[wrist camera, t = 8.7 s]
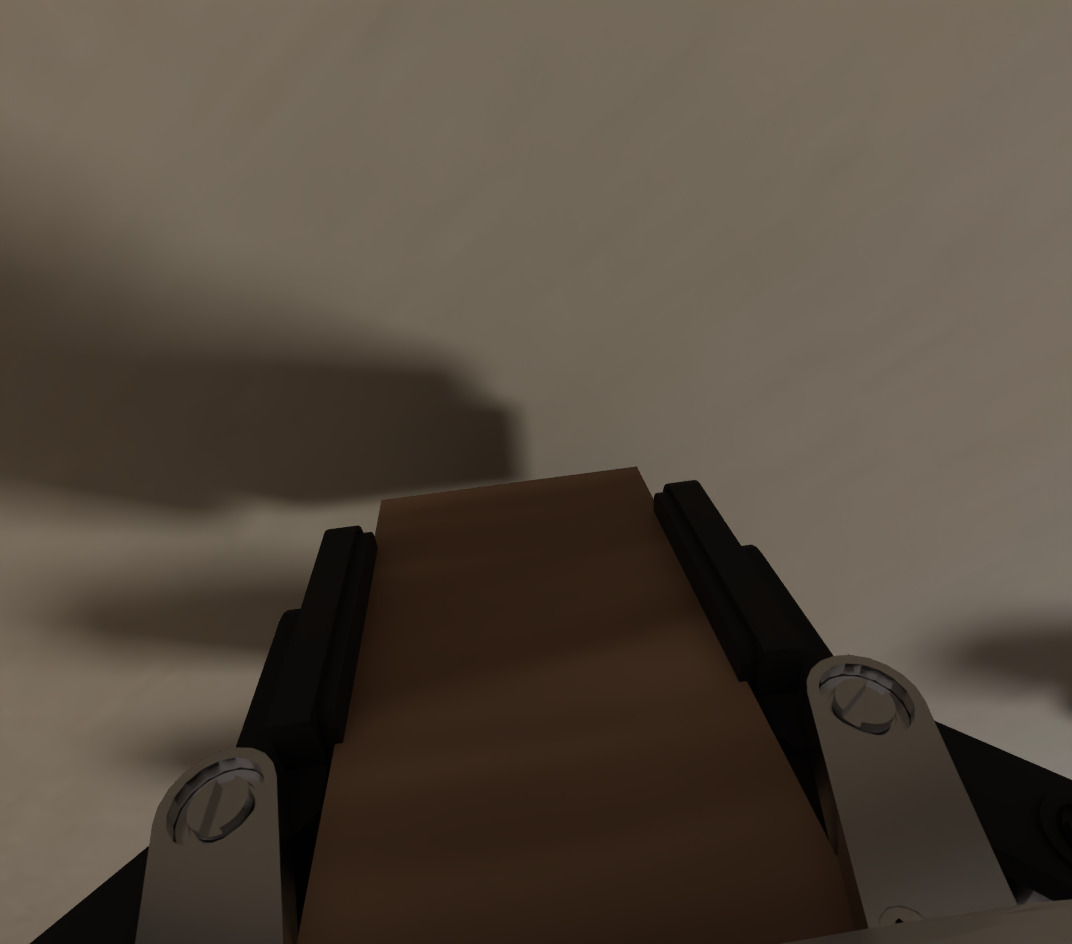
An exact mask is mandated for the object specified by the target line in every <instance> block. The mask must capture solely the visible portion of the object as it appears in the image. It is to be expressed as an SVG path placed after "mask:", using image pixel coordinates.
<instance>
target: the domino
mask: <svg viewBox="0 0 1072 944" xmlns="http://www.w3.org/2000/svg"><path fill="white" fill-rule="evenodd" d="M653 510H654V499H653V498H652V496H651V494H650V492H649V490H648V488H647V486H646V484H645V482H644V480H643V478H642V476H641V474H640V472H639V470H638V468H637V467H630V468H623V469H615V470H607V471H600V472H592V473H585V474H577V475H569V476H562V477H554V478H547V479H539V480H531V481H524V482H516V483H509V484H501V485H493V486H486V487H478V488H470V489H463V490H455V491H448V492H440V493H432V494H425V495H417V496H410V497H402V498H394V499H387V500H382V501H381V506H380V512H379V517H378V522H377V527H376V533H375V539H376V543H377V547H378V550H377V556H376V561H375V567H374V573H373V578H372V584H371V589H370V595H369V601H368V606H367V612H366V617H365V623H364V629H363V634H362V640H361V645H360V651H359V657H358V662H357V668H356V673H355V679H354V685H353V690H352V696H351V701H350V707H349V713H348V718H347V724H346V729H345V735H344V741H343V743H339V744H335V746H334V752H333V757H332V762H331V767H330V772H329V778H328V783H327V788H326V793H325V798H324V804H323V809H322V814H321V819H320V825H319V830H318V835H317V840H316V845H315V851H314V856H313V861H312V866H311V871H310V877H309V882H308V887H307V892H306V898H305V903H304V908H303V913H302V918H301V924H300V929H299V934H298V939H297V944H782V943H788V942H794V941H800V940H805V939H811V938H817V937H823V936H828V935H834V934H840V933H846V932H851V931H855V928H854V920H853V916H852V912H851V911H850V907H849V903H848V899H847V895H846V891H845V887H844V883H843V878H842V874H841V870H840V866H839V862H838V858H837V856H836V854H835V852H834V850H833V848H832V846H831V844H830V842H829V840H828V838H827V836H826V834H825V832H824V830H823V828H822V826H821V824H820V822H819V821H818V819H817V817H816V815H815V813H814V811H813V809H812V807H811V805H810V803H809V801H808V799H807V797H806V795H805V793H804V791H803V789H802V787H801V786H800V784H799V782H798V780H797V778H796V776H795V774H794V772H793V770H792V768H791V766H790V764H789V762H788V760H787V758H786V756H785V754H784V752H783V750H782V749H781V747H780V745H779V743H778V741H777V739H776V737H775V735H774V733H773V731H772V729H771V727H770V725H769V723H768V721H767V719H766V717H765V715H764V714H763V712H762V710H761V708H760V706H759V704H758V702H757V700H756V698H755V696H754V694H753V692H752V690H751V688H750V686H749V684H748V682H747V681H744V682H739V681H738V679H737V677H736V675H735V673H734V671H733V669H732V667H731V665H730V663H729V661H728V659H727V657H726V655H725V653H724V651H723V649H722V647H721V645H720V643H719V641H718V639H717V637H716V635H715V633H714V631H713V629H712V627H711V625H710V623H709V621H708V619H707V617H706V615H705V613H704V611H703V609H702V607H701V605H700V603H699V601H698V599H697V597H696V595H695V593H694V591H693V589H692V587H691V585H690V583H689V581H688V579H687V577H686V575H685V573H684V571H683V569H682V567H681V565H680V563H679V561H678V559H677V557H676V555H675V553H674V551H673V549H672V547H671V545H670V543H669V541H668V539H667V537H666V535H665V533H664V531H663V529H662V527H661V525H660V523H659V521H658V519H657V517H656V515H655V513H654V511H653Z"/></svg>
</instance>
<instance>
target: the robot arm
mask: <svg viewBox="0 0 1072 944" xmlns="http://www.w3.org/2000/svg"><path fill="white" fill-rule="evenodd" d="M653 511H654V513H655V515H656V517H657V519H658V521H659V523H660V525H661V527H662V529H663V531H664V533H665V535H666V537H667V539H668V541H669V543H670V545H671V547H672V549H673V551H674V553H675V555H676V557H677V559H678V561H679V563H680V565H681V567H682V569H683V571H684V573H685V575H686V577H687V579H688V581H689V583H690V585H691V587H692V589H693V591H694V593H695V595H696V597H697V599H698V601H699V603H700V605H701V607H702V609H703V611H704V613H705V615H706V617H707V619H708V621H709V623H710V625H711V627H712V629H713V631H714V633H715V635H716V637H717V639H718V641H719V643H720V645H721V647H722V649H723V651H724V653H725V655H726V657H727V659H728V661H729V663H730V665H731V667H732V669H733V671H734V673H735V675H736V677H737V679H738V681H739V682H744V681H747V682H748V684H749V686H750V688H751V690H752V692H753V694H754V696H755V698H756V700H757V702H758V704H759V706H760V708H761V710H762V712H763V714H764V715H765V717H766V719H767V721H768V723H769V725H770V727H771V729H772V731H773V733H774V735H775V737H776V739H777V741H778V743H779V745H780V747H781V749H782V750H783V752H784V754H785V756H786V758H787V760H788V762H789V764H790V766H791V768H792V770H793V772H794V774H795V776H796V778H797V780H798V782H799V784H800V786H801V787H802V789H803V791H804V793H805V795H806V797H807V799H808V801H809V803H810V805H811V807H812V809H813V811H814V813H815V815H816V817H817V819H818V821H819V822H820V824H821V826H822V828H823V830H824V832H825V834H826V836H827V838H828V840H829V842H830V844H831V846H832V848H833V850H834V852H835V854H836V856H837V858H838V862H839V866H840V870H841V874H842V878H843V883H844V887H845V891H846V895H847V899H848V903H849V907H850V911H851V912H852V916H853V920H854V928H855V931H851V932H846V933H840V934H834V935H828V936H823V937H817V938H811V939H805V940H800V941H794V942H788V943H782V944H1072V780H1070V779H1068V778H1066V777H1063V776H1061V775H1059V774H1056V773H1054V772H1052V771H1050V770H1047V769H1045V768H1043V767H1040V766H1038V765H1036V764H1033V763H1031V762H1029V761H1026V760H1024V759H1022V758H1019V757H1017V756H1015V755H1012V754H1010V753H1008V752H1006V751H1003V750H1001V749H999V748H996V747H994V746H992V745H989V744H987V743H985V742H982V741H980V740H978V739H975V738H973V737H971V736H969V735H966V734H964V733H962V732H959V731H957V730H955V729H952V728H950V727H948V726H945V725H943V724H941V723H938V722H936V721H934V719H933V717H932V715H931V712H930V710H929V708H928V706H927V703H926V701H925V700H924V698H923V697H922V695H921V694H920V692H919V691H918V689H917V688H916V687H915V686H914V685H913V684H912V683H911V682H910V681H909V680H908V679H907V678H906V677H905V676H904V675H902V674H901V673H899V672H897V671H896V670H894V669H892V668H891V667H889V666H888V665H886V664H883V663H880V662H878V661H875V660H872V659H870V658H866V657H860V656H854V655H841V656H833V655H832V653H831V652H830V650H829V649H828V647H827V646H826V645H825V643H824V642H823V640H822V639H821V637H820V636H819V635H818V633H817V632H816V630H815V629H814V627H813V626H812V624H811V623H810V622H809V620H808V619H807V617H806V616H805V614H804V613H803V612H802V610H801V609H800V607H799V606H798V604H797V603H796V602H795V600H794V599H793V597H792V596H791V594H790V593H789V591H788V590H787V589H786V587H785V586H784V584H783V583H782V581H781V580H780V579H779V577H778V576H777V574H776V573H775V571H774V570H773V569H772V567H771V566H770V564H769V563H768V561H767V560H766V559H765V557H764V556H763V554H762V553H761V552H760V550H759V549H758V548H757V547H756V546H753V545H745V546H741V545H740V543H739V542H738V540H737V539H736V537H735V536H734V534H733V533H732V531H731V530H730V528H729V527H728V525H727V524H726V522H725V521H724V519H723V518H722V516H721V515H720V513H719V512H718V510H717V509H716V507H715V506H714V504H713V503H712V501H711V500H710V498H709V497H708V495H707V494H706V492H705V491H704V489H703V488H702V486H701V485H700V483H699V482H698V481H697V480H691V481H684V482H676V483H669V484H666V485H665V486H664V489H663V492H662V493H656V494H655V495H654V510H653ZM377 550H378V547H377V543H376V539H375V536H374V534H373V533H372V532H367V533H363V531H362V529H361V527H360V526H351V527H343V528H336V529H328V530H326V531H325V533H324V536H323V539H322V542H321V546H320V549H319V552H318V555H317V558H316V562H315V565H314V568H313V571H312V574H311V578H310V581H309V584H308V587H307V590H306V594H305V597H304V600H303V603H302V606H301V609H294V610H287V611H286V612H285V613H284V614H283V615H282V617H281V619H280V621H279V624H278V627H277V630H276V633H275V636H274V639H273V642H272V645H271V647H270V650H269V653H268V656H267V659H266V662H265V665H264V668H263V670H262V673H261V676H260V679H259V682H258V685H257V688H256V691H255V694H254V696H253V699H252V702H251V705H250V708H249V711H248V714H247V717H246V719H245V722H244V725H243V728H242V731H241V734H240V737H239V740H238V743H237V745H236V748H232V749H228V750H224V751H220V752H217V753H215V754H213V755H211V756H209V757H207V758H205V759H203V760H201V761H200V762H198V763H197V764H195V765H194V766H193V767H191V768H190V769H189V770H187V771H186V772H185V773H183V774H182V775H181V777H180V778H179V779H178V780H177V781H176V782H175V783H174V784H173V785H172V786H171V787H170V788H169V789H168V791H167V793H166V794H165V796H164V798H163V799H162V801H161V802H160V804H159V806H158V808H157V811H156V814H155V817H154V821H153V824H152V830H151V837H150V844H149V846H148V847H147V848H146V849H144V850H143V851H142V852H141V853H140V854H138V855H137V856H136V857H135V858H133V859H132V860H131V861H130V862H129V863H127V864H126V865H125V866H124V867H123V868H121V869H120V870H119V871H118V872H116V873H115V874H114V875H113V876H112V877H110V878H109V879H108V880H107V881H105V882H104V883H103V884H102V885H101V886H99V887H98V888H97V889H96V890H95V891H93V892H92V893H91V894H90V895H88V896H87V897H86V898H85V899H84V900H82V901H81V902H80V903H79V904H78V905H76V906H75V907H74V908H73V909H71V910H70V911H69V912H68V913H67V914H65V915H64V916H63V917H62V918H60V919H59V920H58V921H57V922H56V923H54V924H53V925H52V926H51V927H50V928H48V929H47V930H46V931H45V932H43V933H42V934H41V935H40V936H39V937H37V938H36V939H35V940H34V941H33V942H31V943H30V944H297V939H298V934H299V929H300V924H301V918H302V913H303V908H304V903H305V898H306V892H307V887H308V882H309V877H310V871H311V866H312V861H313V856H314V851H315V845H316V840H317V835H318V830H319V825H320V819H321V814H322V809H323V804H324V798H325V793H326V788H327V783H328V778H329V772H330V767H331V762H332V757H333V752H334V746H335V744H339V743H343V741H344V735H345V729H346V724H347V718H348V713H349V707H350V701H351V696H352V690H353V685H354V679H355V673H356V668H357V662H358V657H359V651H360V645H361V640H362V634H363V629H364V623H365V617H366V612H367V606H368V601H369V595H370V589H371V584H372V578H373V573H374V567H375V561H376V556H377Z"/></svg>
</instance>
